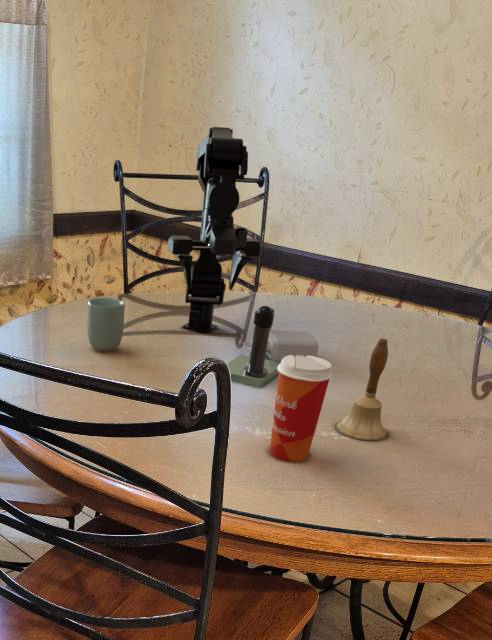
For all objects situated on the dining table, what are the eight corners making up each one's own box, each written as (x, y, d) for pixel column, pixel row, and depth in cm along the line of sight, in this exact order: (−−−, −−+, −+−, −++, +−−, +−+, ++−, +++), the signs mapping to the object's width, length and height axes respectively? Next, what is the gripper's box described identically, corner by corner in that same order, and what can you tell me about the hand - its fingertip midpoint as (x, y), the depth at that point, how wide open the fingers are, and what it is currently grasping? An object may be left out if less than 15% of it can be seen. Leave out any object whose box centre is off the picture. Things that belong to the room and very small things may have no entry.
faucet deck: (240, 360, 153) (248, 308, 147) (283, 370, 149) (292, 317, 143) (215, 376, 143) (221, 321, 138) (259, 387, 139) (268, 331, 134)
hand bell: (389, 443, 119) (415, 349, 111) (338, 437, 120) (360, 344, 112) (382, 424, 126) (406, 334, 118) (334, 419, 127) (354, 329, 119)
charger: (238, 349, 160) (303, 351, 161) (246, 362, 152) (315, 364, 153) (241, 327, 158) (307, 330, 159) (249, 340, 150) (319, 342, 151)
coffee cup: (257, 442, 117) (272, 352, 109) (305, 443, 118) (324, 353, 110) (270, 465, 110) (287, 371, 102) (322, 465, 111) (343, 372, 103)
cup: (118, 356, 152) (120, 308, 146) (83, 352, 153) (84, 304, 147) (125, 345, 158) (127, 299, 153) (91, 341, 159) (92, 295, 154)
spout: (268, 341, 136) (274, 309, 133) (250, 339, 137) (254, 307, 134) (275, 329, 144) (280, 298, 140) (257, 326, 145) (262, 296, 141)
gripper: (182, 213, 135) (175, 297, 144) (276, 216, 138) (263, 299, 146) (170, 205, 145) (163, 285, 153) (258, 208, 147) (247, 286, 156)
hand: (209, 289), depth 152 cm, fingers open, 9 cm apart
